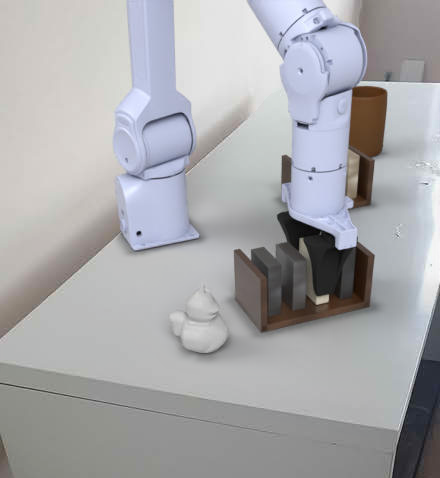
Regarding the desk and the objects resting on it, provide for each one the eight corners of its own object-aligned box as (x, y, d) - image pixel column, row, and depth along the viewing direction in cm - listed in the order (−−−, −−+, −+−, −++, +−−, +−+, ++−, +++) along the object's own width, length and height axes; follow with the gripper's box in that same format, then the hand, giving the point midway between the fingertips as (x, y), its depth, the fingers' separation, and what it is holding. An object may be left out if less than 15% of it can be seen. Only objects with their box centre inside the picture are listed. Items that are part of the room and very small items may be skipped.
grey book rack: (261, 332, 80) (260, 276, 75) (235, 300, 85) (233, 246, 81) (369, 306, 83) (375, 251, 78) (337, 277, 89) (341, 224, 84)
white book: (316, 305, 82) (318, 255, 78) (297, 286, 86) (299, 238, 82) (328, 302, 82) (331, 253, 78) (310, 283, 86) (312, 235, 82)
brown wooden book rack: (303, 218, 102) (305, 170, 98) (280, 199, 108) (281, 152, 103) (370, 205, 105) (375, 157, 100) (345, 186, 110) (348, 140, 106)
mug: (307, 157, 121) (309, 96, 115) (315, 142, 126) (317, 84, 120) (380, 160, 118) (386, 98, 112) (384, 145, 123) (390, 85, 117)
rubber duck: (218, 365, 75) (214, 297, 70) (162, 354, 77) (154, 287, 72) (237, 339, 79) (234, 272, 74) (182, 329, 81) (176, 263, 76)
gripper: (389, 179, 70) (375, 304, 79) (322, 136, 80) (317, 251, 89) (323, 191, 68) (317, 317, 77) (264, 146, 78) (265, 262, 87)
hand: (313, 283), depth 83 cm, fingers closed on white book, 5 cm apart
